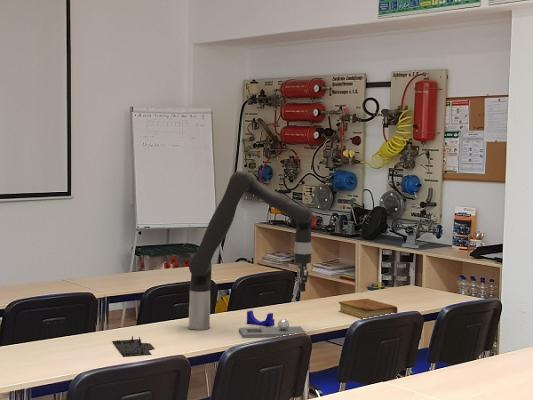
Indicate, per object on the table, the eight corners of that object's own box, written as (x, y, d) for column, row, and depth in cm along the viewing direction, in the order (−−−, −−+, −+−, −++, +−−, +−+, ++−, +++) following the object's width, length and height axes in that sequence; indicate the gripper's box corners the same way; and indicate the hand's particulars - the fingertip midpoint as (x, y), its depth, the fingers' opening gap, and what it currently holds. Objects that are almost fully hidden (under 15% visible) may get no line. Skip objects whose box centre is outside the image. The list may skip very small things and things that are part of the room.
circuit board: (111, 343, 348) (111, 335, 348) (145, 340, 353) (145, 333, 353) (123, 358, 325) (123, 350, 324) (159, 355, 330) (159, 347, 329)
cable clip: (274, 325, 384) (274, 312, 384) (269, 327, 380) (270, 314, 380) (251, 322, 390) (251, 309, 389) (246, 324, 386) (246, 311, 385)
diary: (397, 318, 407) (397, 306, 406) (367, 321, 397) (367, 309, 396) (368, 309, 426) (368, 298, 426) (338, 312, 417) (338, 301, 416)
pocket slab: (242, 337, 359) (242, 334, 359) (238, 330, 371) (238, 327, 371) (306, 336, 363) (306, 333, 363) (300, 329, 376) (300, 326, 376)
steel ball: (278, 331, 365) (279, 320, 365) (276, 328, 370) (277, 317, 370) (290, 331, 366) (290, 320, 366) (287, 328, 371) (288, 317, 370)
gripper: (291, 249, 373) (290, 288, 374) (297, 254, 359) (296, 293, 361) (307, 249, 374) (307, 287, 375) (314, 254, 360) (313, 293, 362)
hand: (302, 290), depth 368 cm, fingers closed
